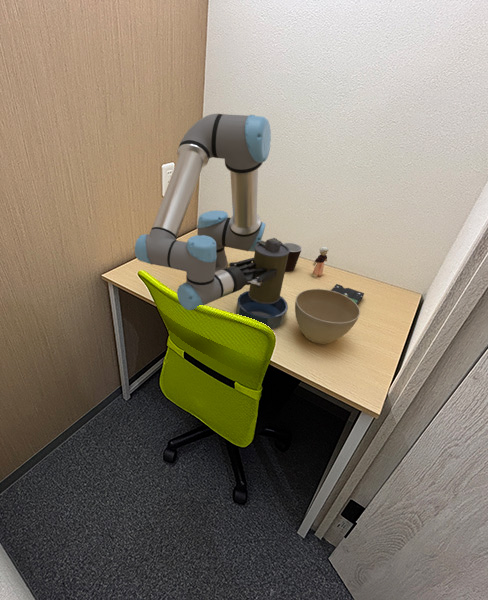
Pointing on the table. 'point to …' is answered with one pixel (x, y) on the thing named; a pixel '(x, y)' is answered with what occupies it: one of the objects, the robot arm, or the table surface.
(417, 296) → the table surface
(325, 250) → the grandmother figurine
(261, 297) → the canister
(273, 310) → the bowl
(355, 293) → the disk drive
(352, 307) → the tan rounded vessel
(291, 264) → the coffee mug
